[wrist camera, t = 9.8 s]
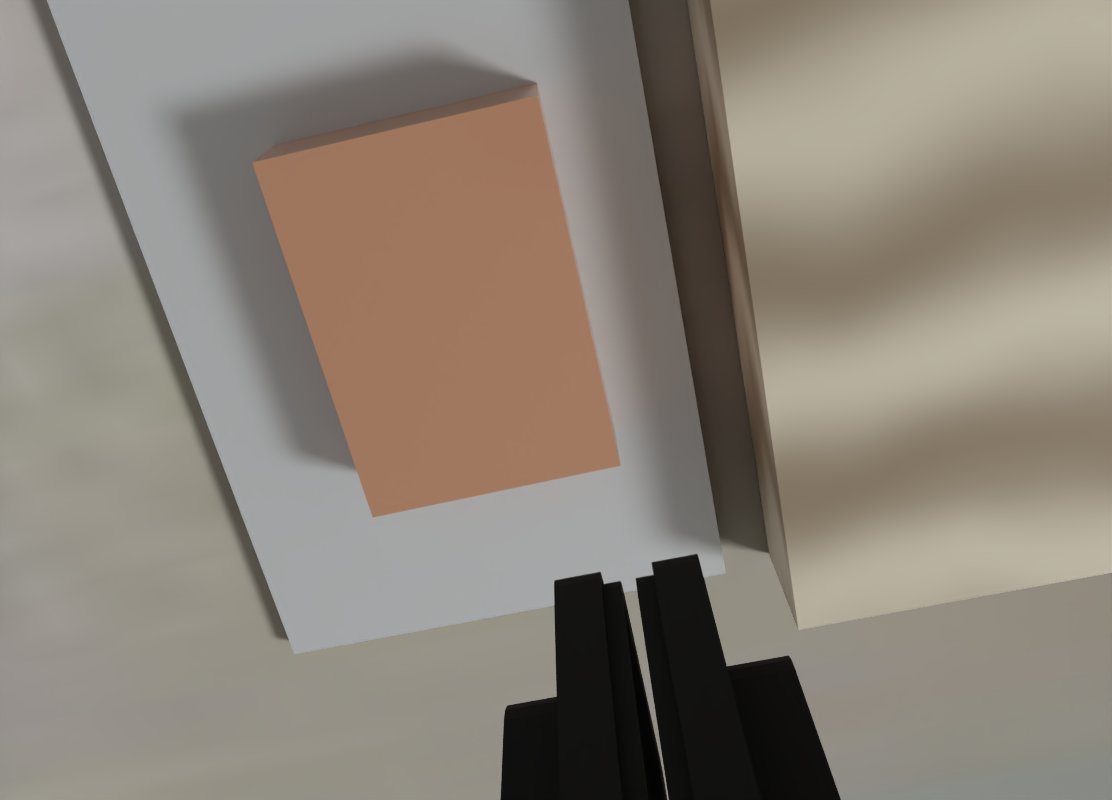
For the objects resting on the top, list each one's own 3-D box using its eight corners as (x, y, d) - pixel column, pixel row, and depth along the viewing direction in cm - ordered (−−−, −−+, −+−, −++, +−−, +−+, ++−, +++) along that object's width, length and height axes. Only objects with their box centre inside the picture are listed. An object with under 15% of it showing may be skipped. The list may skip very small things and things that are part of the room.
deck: (652, -233, 25) (673, -263, 21) (1262, -378, 24) (1395, -435, 20) (769, 554, 33) (798, 629, 30) (1219, 469, 32) (1306, 537, 29)
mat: (25, -84, 26) (15, -84, 25) (589, -218, 25) (590, -222, 24) (298, 642, 34) (294, 654, 34) (722, 562, 33) (725, 573, 33)
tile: (537, 95, 25) (536, 82, 27) (252, 162, 25) (274, 144, 27) (620, 465, 29) (614, 428, 31) (372, 517, 29) (384, 477, 31)
